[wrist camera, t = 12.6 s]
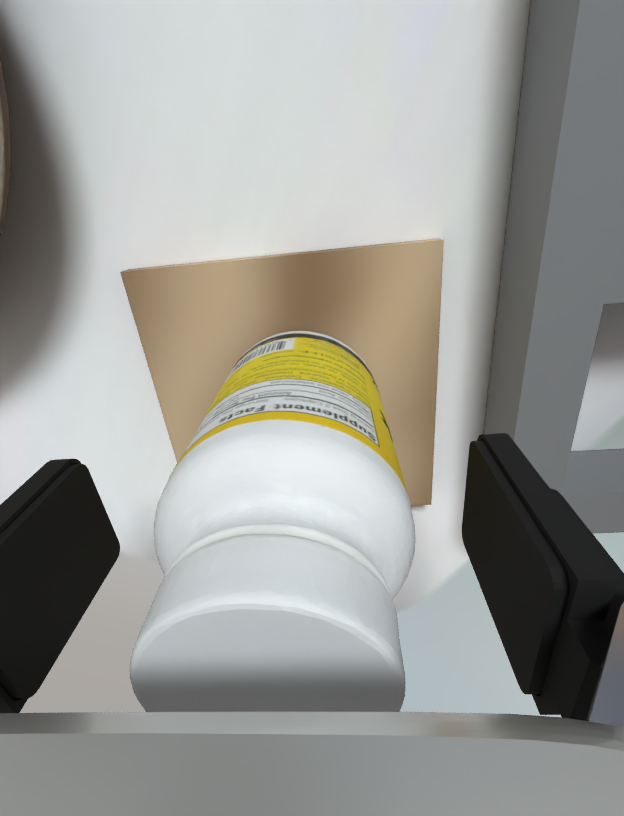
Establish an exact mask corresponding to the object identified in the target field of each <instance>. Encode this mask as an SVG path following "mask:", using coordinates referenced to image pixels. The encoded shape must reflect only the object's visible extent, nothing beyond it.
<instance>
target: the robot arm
mask: <svg viewBox="0 0 624 816" xmlns="http://www.w3.org/2000/svg"><path fill="white" fill-rule="evenodd" d="M462 537H463V542H464V546H465V548H466V551H467V553H468V556H469V558H470V561H471V564H472V566H473V569H474V571H475V573H476V576H477V579H478V581H479V584H480V587H481V589H482V592H483V594H484V597H485V600H486V602H487V605H488V607H489V610H490V612H491V615H492V617H493V620H494V622H495V625H496V628H497V630H498V633H499V635H500V638H501V640H502V643H503V646H504V648H505V651H506V653H507V656H508V659H509V661H510V664H511V666H512V669H513V671H514V674H515V677H516V679H517V682H518V684H519V686H520V689H521V690H522V692H523V693H524V694H532V696H533V698H534V701H535V703H536V706H537V708H538V711H539V713H540V715H554V714H555V715H561V717H562V718H560V717H546V716H532V715H518V714H486V713H485V714H484V713H436V712H435V713H434V712H104V713H103V712H92V713H91V712H90V713H88V712H86V713H84V712H83V713H20V711H21V709H22V708H23V706H24V704H25V703H26V701H27V699H28V698H30V697H32V696H33V695H34V694H35V693H36V692H37V690H38V689H39V688H40V686H41V684H42V683H43V681H44V679H45V678H46V676H47V674H48V673H49V671H50V669H51V668H52V666H53V664H54V663H55V661H56V659H57V658H58V656H59V654H60V653H61V651H62V649H63V648H64V646H65V645H66V643H67V641H68V639H69V638H70V636H71V635H72V633H73V631H74V630H75V628H76V626H77V625H78V623H79V621H80V620H81V618H82V616H83V614H84V613H85V611H86V610H87V608H88V606H89V605H90V603H91V601H92V600H93V598H94V596H95V595H96V593H97V591H98V590H99V588H100V586H101V585H102V583H103V582H104V580H105V578H106V577H107V575H108V573H109V572H110V570H111V568H112V567H113V565H114V563H115V562H116V560H117V558H118V556H119V552H120V544H119V541H118V539H117V536H116V534H115V532H114V529H113V527H112V524H111V522H110V520H109V517H108V515H107V513H106V510H105V508H104V506H103V503H102V501H101V498H100V496H99V494H98V491H97V489H96V487H95V484H94V482H93V479H92V477H91V475H90V472H89V470H88V468H87V467H86V466H85V465H84V464H81V462H80V461H79V460H77V459H61V460H51V461H49V462H47V463H46V464H45V465H44V466H43V467H42V468H40V469H39V470H38V471H37V472H36V473H35V474H34V475H33V476H32V477H31V478H29V479H28V480H27V481H26V482H25V483H24V484H23V485H22V486H21V487H20V488H18V489H17V490H16V491H15V492H14V493H13V494H12V495H11V496H10V497H9V498H8V499H6V500H5V501H4V502H3V503H2V504H1V505H0V816H624V573H623V572H622V571H621V569H620V568H619V567H618V565H617V564H616V563H615V562H614V561H613V559H612V558H611V557H610V555H609V554H608V553H607V552H606V550H605V549H604V548H603V546H602V545H601V544H600V543H599V541H598V540H597V539H596V538H595V536H594V535H593V534H592V533H591V531H590V530H589V529H588V528H587V526H586V525H585V524H584V522H583V521H582V520H581V519H580V517H579V516H578V515H577V514H576V512H575V511H574V510H573V509H572V507H571V506H570V505H569V503H568V502H567V501H566V500H565V498H564V497H563V496H562V495H561V494H560V493H559V492H558V491H557V490H555V489H552V488H551V489H550V488H549V486H548V485H547V484H546V483H545V481H544V480H543V479H542V477H541V476H540V475H539V473H538V472H537V471H536V470H535V468H534V467H533V466H532V464H531V463H530V462H529V460H528V459H527V458H526V457H525V455H524V454H523V453H522V451H521V450H520V449H519V447H518V446H517V445H516V443H515V442H514V441H513V440H512V438H511V437H510V436H509V435H508V434H507V433H497V434H481V435H480V436H479V437H478V440H477V441H472V442H471V443H470V447H469V458H468V468H467V479H466V490H465V501H464V511H463V522H462Z"/></svg>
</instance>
